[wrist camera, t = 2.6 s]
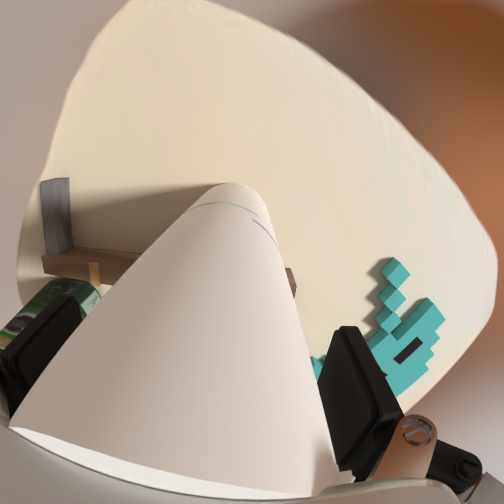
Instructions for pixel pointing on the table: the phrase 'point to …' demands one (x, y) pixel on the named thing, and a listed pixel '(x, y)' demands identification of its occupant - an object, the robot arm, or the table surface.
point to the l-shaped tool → (79, 258)
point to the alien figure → (400, 334)
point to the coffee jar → (76, 288)
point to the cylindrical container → (192, 368)
